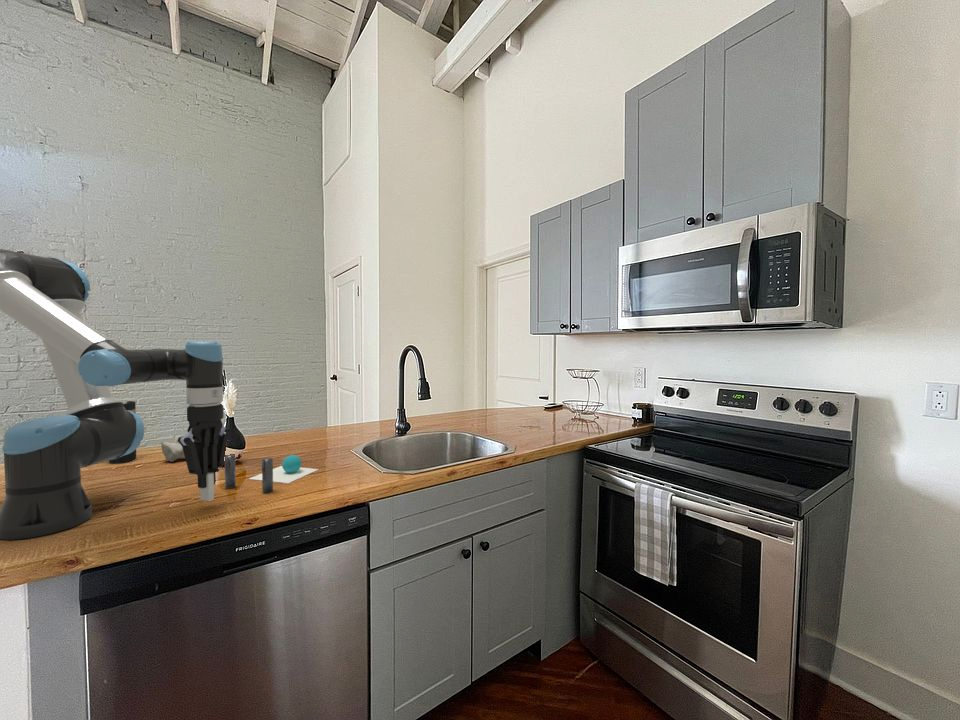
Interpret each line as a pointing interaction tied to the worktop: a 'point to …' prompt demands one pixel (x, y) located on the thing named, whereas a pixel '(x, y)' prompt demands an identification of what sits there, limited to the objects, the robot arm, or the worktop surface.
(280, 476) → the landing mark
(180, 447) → the grey rock
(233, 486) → the gate post left
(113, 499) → the worktop surface
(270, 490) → the gate post right
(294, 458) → the ball
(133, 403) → the travel mug
